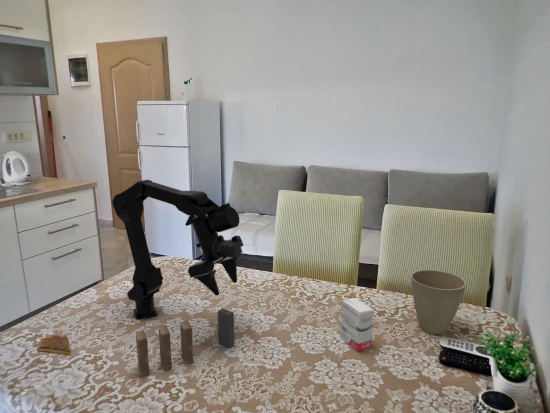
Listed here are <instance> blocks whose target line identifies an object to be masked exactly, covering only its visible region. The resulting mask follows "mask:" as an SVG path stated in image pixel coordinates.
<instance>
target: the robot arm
mask: <svg viewBox="0 0 550 413" xmlns="http://www.w3.org/2000/svg"><path fill="white" fill-rule="evenodd" d="M148 198H151V199H154V200H155V201H156V200H157V201H159V202H163V203H166V204H169V205H172V206H174V207H175V208H176V209H177V210H178V211H179V212H180V213H183V214H185V215H187V220H186V222H185V224H184V225H185V226H186V227H188V226H191V225H192V227H193V228H192V229H193V230H194V231H193V232H194V233H195V234H194V235H195V236H196V239H197V241H198V243H196V244H195V246H196V248H197V249H198V248H200V250H201V252H202V255H203V257H201V258H200V259H201V261H199V262H196V263H194V264H192V265H190V266H188V269H187V272H188V275H189V277H190V278H193V279H194V280H198V281H199V282H200V283H202V284H203V285H204V286H205V287H206V288H208V291H211V293H212V294H214V296H220V289H219V287H218V283H217V280H216V277H215V276H216V273H217V269H215V265H217V264H218V263H221V266H222V268H223V269H224V270H225V272H226V274H227V276H229V278H230V280H231V281H232V283H233V284H236V283H237V282H238V272H237V267H238V263H237V262H238V261H239V259H240V257H241V256H242V253H243V249H242V247H243V246H244V243H243V240H242V238H241V235H234V236H232V237H231V239H225V238H224V235H223V234H220V235H219V233H222V232H225V231H228V230H232V229H235V228H237V227H238V226H239V225H240V214H239V213H238V212H237V211H236V209H235V208H234V207H232V206H231V204H230V203H229V202H227V203H223V204H221V205H220V206H219V205H218V204H217V203H215V201H213V200H212V199H211V198H209V197H208V194H207V193H206V192H205V191H200V190H181V189H177V188H174V187H171V186H167V185H164V184H162V183H158V182H154V181H152V180H150V179H144V180H138V181H136V182H135V183H133V185H132V186H130V187H129V188H127V189H125V190H123V191H122V192H120V193H117V194H115V195H114V197H113V199H112V207H113V209H114V211H115V213H116V214H115V215H116V217H118V218H119V219H120V220H121V221H122V223H123V224H124V227H125V232H126V236H127V239H128V243H129V247H130V250H131V256H132V261H133V264H134V266H135V267H134V271H133V275H132V283H133V286H132V288H131V289H129V290H128V291H127V293H126V294H127V297H128V298H127V299H128V300H129V301H134V304H135V307H134V309H133V310H132V312H133V314H134V316H135V319H136V320H142V319H146V318H151V317H156V316H158V312H157V309H156V307H155V294H157V293H159V292H160V289H161V288H162V285H163V280H164V277H163V275H162V269H161V268H160V267H156V266H155V265H154V264H153V262H152V260H151V259H152V258H151V253H150V250H149V247H148V242H147V238H146V234H145V230H144V226H143V222H142V217H143V216H142V215H143V213H144V210H145V209H144V202H145V201H146V200H147V199H148ZM190 278H189V279H190Z"/></svg>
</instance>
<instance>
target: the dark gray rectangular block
mask: <svg viewBox="0 0 550 413" xmlns="http://www.w3.org/2000/svg"><path fill="white" fill-rule="evenodd" d="M217 333H218V334H217V335H218V336H217V338H218V339H217V340H218V345H219V346H221V347H225V348H227V349H231V348H233V347H234V346H235V313H234V311H231V310H228V309H225V308H220V309H219V310H218V311H217Z"/></svg>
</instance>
